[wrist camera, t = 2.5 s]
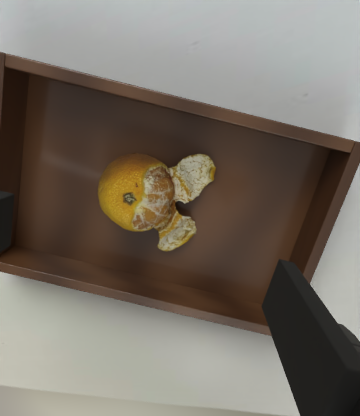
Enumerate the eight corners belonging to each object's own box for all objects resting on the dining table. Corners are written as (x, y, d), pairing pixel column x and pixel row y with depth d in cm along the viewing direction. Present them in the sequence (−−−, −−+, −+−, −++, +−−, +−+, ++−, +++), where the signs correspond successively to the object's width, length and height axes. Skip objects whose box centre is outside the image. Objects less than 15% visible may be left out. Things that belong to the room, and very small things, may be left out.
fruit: (188, 253, 25) (186, 274, 21) (93, 224, 24) (76, 241, 21) (220, 158, 22) (224, 164, 19) (116, 126, 22) (101, 126, 19)
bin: (7, 249, 26) (-19, 267, 23) (22, 60, 22) (-8, 49, 18) (276, 314, 26) (287, 339, 23) (342, 141, 22) (367, 144, 19)
